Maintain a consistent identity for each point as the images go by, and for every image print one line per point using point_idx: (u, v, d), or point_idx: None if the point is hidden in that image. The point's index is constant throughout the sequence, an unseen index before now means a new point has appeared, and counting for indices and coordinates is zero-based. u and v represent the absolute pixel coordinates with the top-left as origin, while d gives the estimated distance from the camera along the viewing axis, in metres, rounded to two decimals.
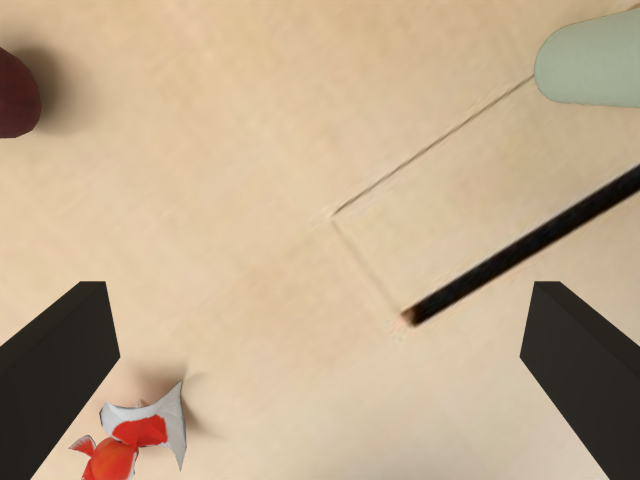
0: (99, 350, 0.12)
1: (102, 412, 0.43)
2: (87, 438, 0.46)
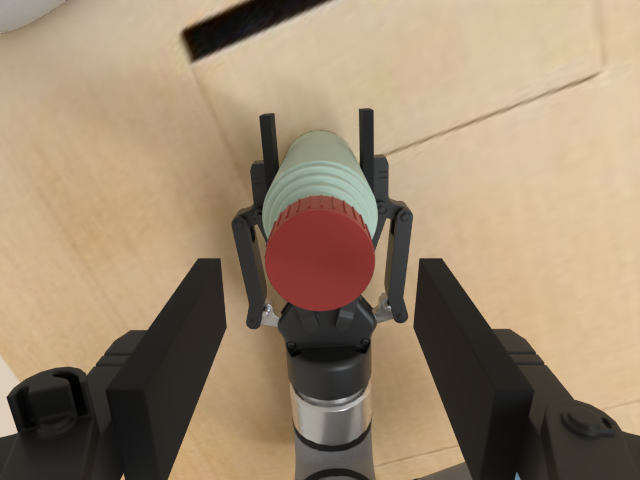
0: (217, 318, 0.14)
1: None
2: None
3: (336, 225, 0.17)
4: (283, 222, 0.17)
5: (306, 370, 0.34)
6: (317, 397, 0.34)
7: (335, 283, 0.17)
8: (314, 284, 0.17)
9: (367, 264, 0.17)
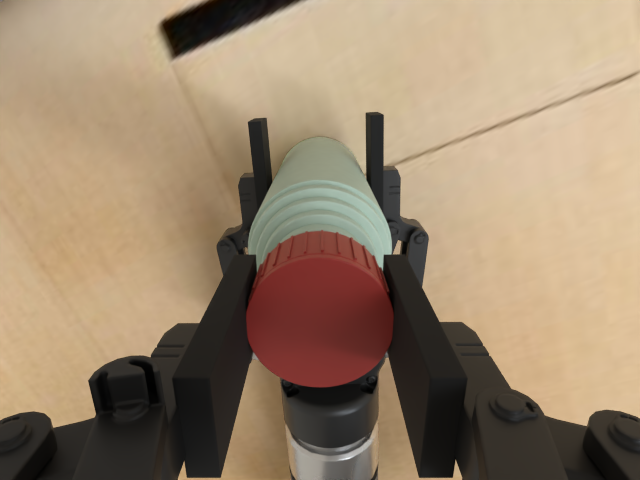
0: None
1: None
2: None
3: (342, 278, 0.12)
4: (269, 273, 0.12)
5: (304, 415, 0.29)
6: (317, 444, 0.30)
7: (340, 352, 0.13)
8: (312, 354, 0.13)
9: (384, 328, 0.13)
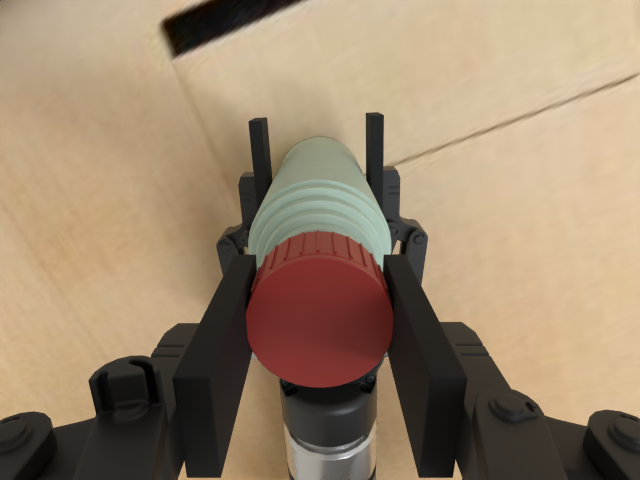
0: None
1: None
2: None
3: (261, 321, 0.12)
4: (280, 375, 0.13)
5: (303, 414, 0.29)
6: (315, 444, 0.30)
7: (344, 301, 0.12)
8: (353, 325, 0.13)
9: (303, 270, 0.12)
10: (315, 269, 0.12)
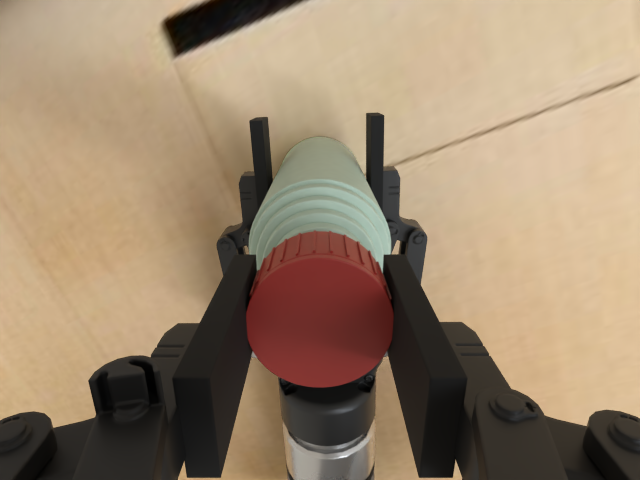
0: None
1: None
2: None
3: (329, 374, 0.13)
4: (388, 343, 0.13)
5: (302, 413, 0.29)
6: (314, 442, 0.30)
7: (285, 314, 0.12)
8: (309, 298, 0.12)
9: (265, 354, 0.13)
10: (261, 345, 0.13)
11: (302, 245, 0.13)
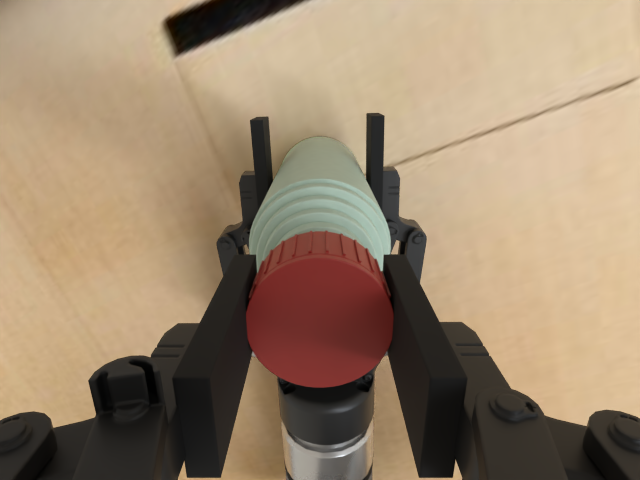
0: None
1: None
2: None
3: (373, 304, 0.12)
4: (322, 256, 0.12)
5: (301, 411, 0.29)
6: (312, 441, 0.30)
7: (315, 358, 0.13)
8: (292, 343, 0.13)
9: (364, 364, 0.13)
10: (355, 370, 0.13)
11: None
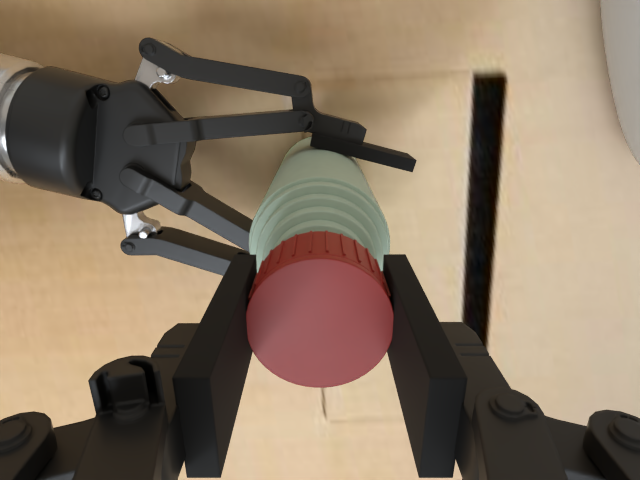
0: None
1: None
2: None
3: (373, 304, 0.12)
4: (322, 256, 0.12)
5: (63, 114, 0.22)
6: (12, 116, 0.22)
7: (315, 358, 0.13)
8: (292, 342, 0.13)
9: (364, 364, 0.13)
10: (355, 370, 0.13)
11: None
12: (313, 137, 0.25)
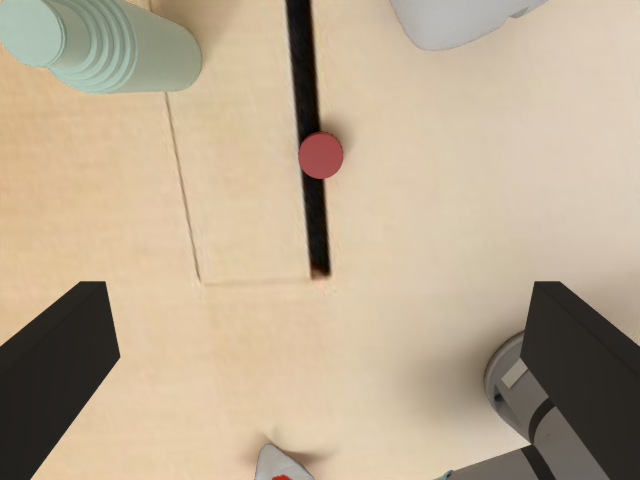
0: (99, 350, 0.12)
1: None
2: None
3: (336, 149, 0.42)
4: (321, 134, 0.42)
5: None
6: None
7: (319, 167, 0.43)
8: (312, 162, 0.43)
9: (334, 170, 0.43)
10: (331, 172, 0.43)
11: None
12: None
